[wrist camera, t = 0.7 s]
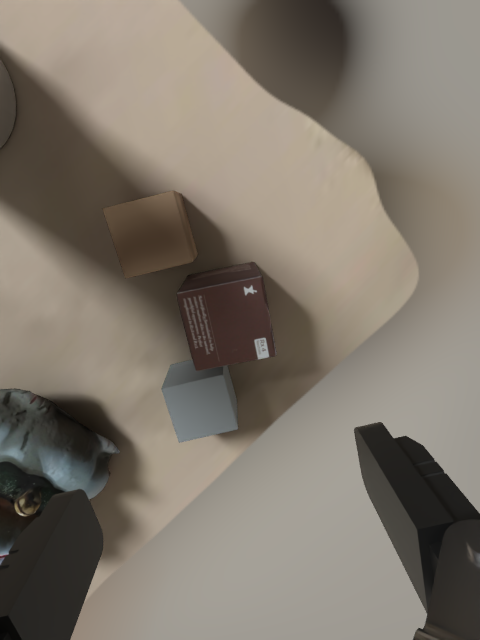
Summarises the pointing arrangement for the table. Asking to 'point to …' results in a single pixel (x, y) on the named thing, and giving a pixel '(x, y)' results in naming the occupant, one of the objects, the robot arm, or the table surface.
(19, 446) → the grey-blue rounded figure
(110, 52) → the table surface
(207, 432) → the grey block
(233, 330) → the box
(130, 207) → the walnut block
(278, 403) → the table surface
